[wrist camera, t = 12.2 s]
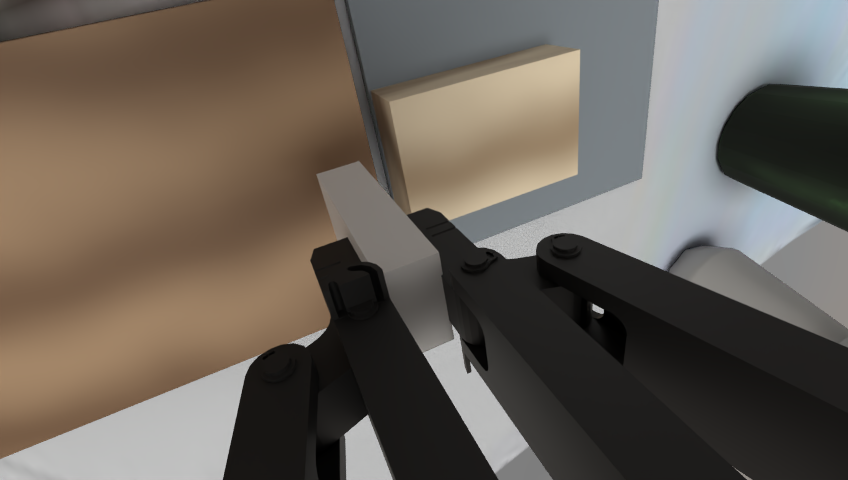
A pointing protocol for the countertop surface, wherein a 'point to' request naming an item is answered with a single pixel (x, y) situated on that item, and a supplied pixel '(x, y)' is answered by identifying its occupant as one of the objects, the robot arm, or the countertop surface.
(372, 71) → the slate mat
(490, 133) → the beech block
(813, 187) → the potion bottle
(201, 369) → the board
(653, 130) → the countertop surface
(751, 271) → the salt shaker
